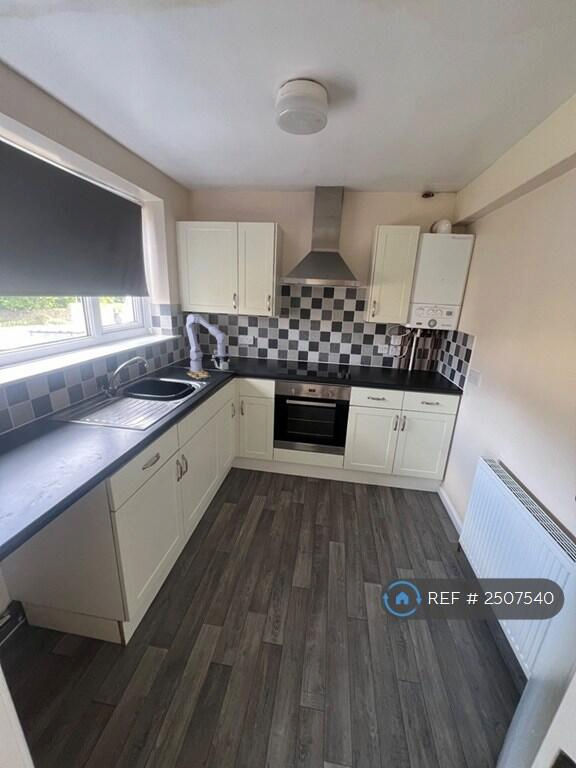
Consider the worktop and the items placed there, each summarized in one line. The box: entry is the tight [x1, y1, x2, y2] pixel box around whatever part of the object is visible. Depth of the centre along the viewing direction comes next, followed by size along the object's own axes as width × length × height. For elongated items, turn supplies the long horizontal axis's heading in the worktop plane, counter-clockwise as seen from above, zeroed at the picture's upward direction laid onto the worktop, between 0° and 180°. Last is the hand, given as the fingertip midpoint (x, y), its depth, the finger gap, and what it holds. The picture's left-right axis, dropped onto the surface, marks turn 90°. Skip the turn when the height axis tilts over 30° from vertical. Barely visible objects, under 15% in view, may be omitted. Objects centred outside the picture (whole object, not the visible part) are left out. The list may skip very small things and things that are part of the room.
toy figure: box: [210, 349, 230, 366], centre depth 255 cm, size 17×10×15 cm, turn 62°
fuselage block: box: [215, 360, 229, 371], centre depth 233 cm, size 11×5×5 cm, turn 40°
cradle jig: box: [186, 369, 212, 380], centre depth 225 cm, size 18×11×3 cm, turn 40°
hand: (221, 366), depth 234 cm, fingers closed on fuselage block, 5 cm apart
